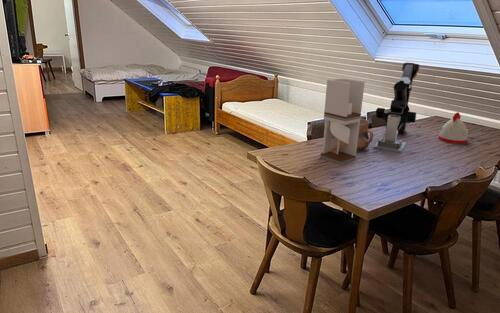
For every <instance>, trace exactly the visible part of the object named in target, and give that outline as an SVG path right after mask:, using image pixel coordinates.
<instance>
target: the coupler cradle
mask: <svg viewBox="0 0 500 313" xmlns="http://www.w3.org/2000/svg"><path fill="white" fill-rule="evenodd" d="M384 139H385V136H381V137H380V138H379V139H378V141H377V142H376V143H375V144H374V145H373V149H377V150H383V151H389V152H395V153H402V152H403V150H404V149H405V147H406V145H407V142H406V141H405V142H404V141H403V139H400V140H396V142H395V143H391V142H385V141H384Z"/></svg>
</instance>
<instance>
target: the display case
mask: <svg viewBox="0 0 500 313" xmlns="http://www.w3.org/2000/svg"><path fill="white" fill-rule="evenodd" d="M365 84H366V82H365V81H363V80H356V79H351V78H346V77H345V78H343V77H341V78H332V79H327V80H326V89H325V90H326V91H325V101H324V102H325V103H324V112H323V113H324V114H323V120H324V131H323V142H322V150H321V151H322V152H321V153H320V156H319V157H320V159H323V160H326V161H329V162H331V163H335V164H338V165H344V164H347V163H350V162H353V161H355V160H356V159H357V158H356V156H357V151H356V150H357V142H358V133H359V125H360V117H361V116H362V107H363V99H364V91H365Z"/></svg>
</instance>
